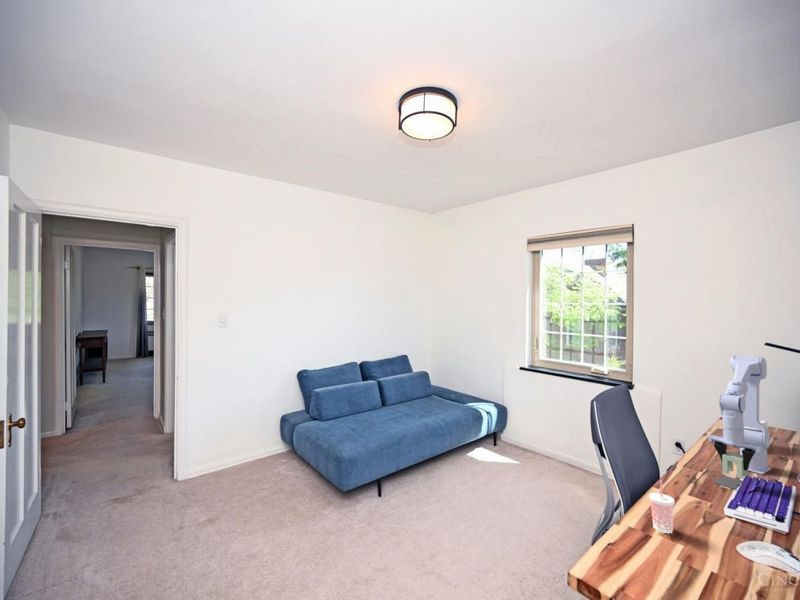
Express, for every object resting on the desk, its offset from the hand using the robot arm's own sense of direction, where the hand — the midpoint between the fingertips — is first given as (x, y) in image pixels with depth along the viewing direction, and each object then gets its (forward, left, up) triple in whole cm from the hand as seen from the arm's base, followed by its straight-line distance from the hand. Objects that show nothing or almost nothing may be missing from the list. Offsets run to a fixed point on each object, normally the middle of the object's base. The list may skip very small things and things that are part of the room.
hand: (735, 466), depth 136 cm
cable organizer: (-52, -12, -7) cm, 54 cm away
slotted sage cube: (0, 0, -3) cm, 3 cm away
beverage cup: (+52, 0, -7) cm, 52 cm away
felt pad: (0, 0, -6) cm, 6 cm away
